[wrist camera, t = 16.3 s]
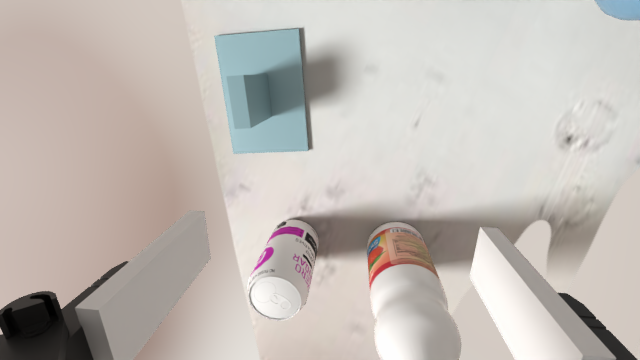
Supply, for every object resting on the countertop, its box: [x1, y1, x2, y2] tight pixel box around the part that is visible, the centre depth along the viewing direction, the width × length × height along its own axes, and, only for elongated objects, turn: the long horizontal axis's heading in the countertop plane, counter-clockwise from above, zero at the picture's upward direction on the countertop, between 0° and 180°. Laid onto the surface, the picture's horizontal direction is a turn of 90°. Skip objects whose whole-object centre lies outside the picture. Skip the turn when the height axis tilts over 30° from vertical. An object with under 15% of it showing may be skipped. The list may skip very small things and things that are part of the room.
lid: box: [214, 29, 309, 154], centre depth 40 cm, size 17×12×11 cm
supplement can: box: [247, 220, 319, 321], centre depth 46 cm, size 8×8×15 cm
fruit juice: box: [367, 222, 461, 360], centre depth 38 cm, size 9×9×28 cm
